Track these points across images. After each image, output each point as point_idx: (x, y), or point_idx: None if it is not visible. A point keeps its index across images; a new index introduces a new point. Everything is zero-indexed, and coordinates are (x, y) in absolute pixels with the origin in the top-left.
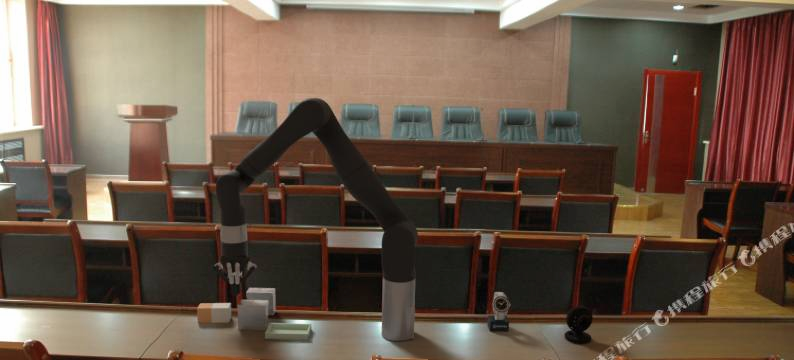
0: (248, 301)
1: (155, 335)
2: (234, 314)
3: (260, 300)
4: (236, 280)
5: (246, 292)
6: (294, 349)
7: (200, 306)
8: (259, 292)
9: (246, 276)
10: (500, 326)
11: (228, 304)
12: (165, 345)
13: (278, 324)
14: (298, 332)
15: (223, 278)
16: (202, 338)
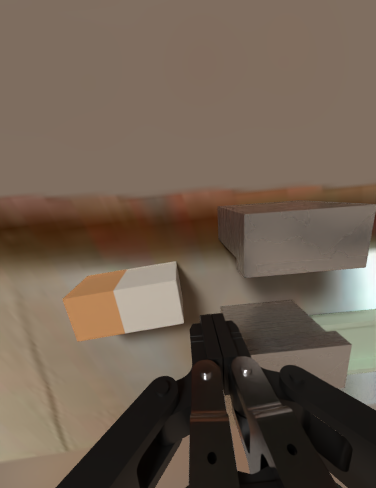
0: (275, 365)
1: (36, 387)
2: (179, 241)
3: (320, 350)
4: (244, 425)
5: (244, 277)
6: (358, 393)
7: (79, 325)
8: (305, 269)
9: (336, 457)
10: None
11: (172, 293)
12: (90, 420)
13: (331, 328)
14: (371, 335)
15: (152, 451)
16: None
